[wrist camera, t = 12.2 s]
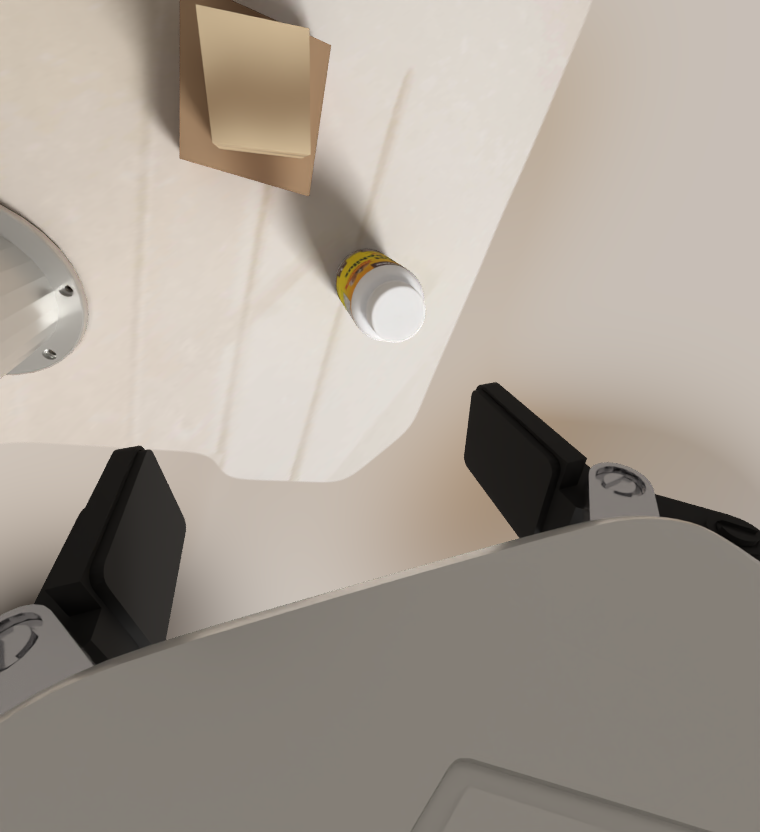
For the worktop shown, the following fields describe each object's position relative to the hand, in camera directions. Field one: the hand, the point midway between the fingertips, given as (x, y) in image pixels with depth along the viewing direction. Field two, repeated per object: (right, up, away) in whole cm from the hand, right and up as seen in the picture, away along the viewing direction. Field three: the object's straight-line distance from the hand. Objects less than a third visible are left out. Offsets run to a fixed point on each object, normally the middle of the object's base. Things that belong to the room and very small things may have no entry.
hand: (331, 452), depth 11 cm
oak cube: (-6, +20, +11) cm, 24 cm away
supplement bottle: (0, +13, +23) cm, 26 cm away
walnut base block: (-7, +22, +15) cm, 28 cm away
